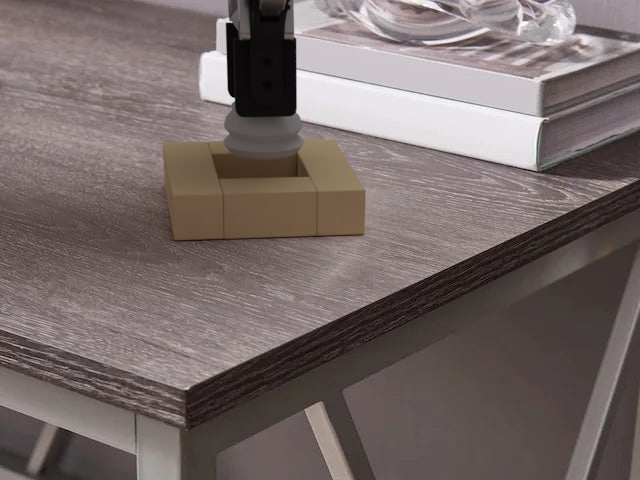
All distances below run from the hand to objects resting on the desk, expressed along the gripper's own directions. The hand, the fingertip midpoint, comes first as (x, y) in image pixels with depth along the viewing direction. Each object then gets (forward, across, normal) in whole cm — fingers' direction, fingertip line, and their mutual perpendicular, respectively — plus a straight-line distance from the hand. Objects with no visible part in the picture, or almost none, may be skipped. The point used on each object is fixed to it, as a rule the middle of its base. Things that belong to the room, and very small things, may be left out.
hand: (261, 102), depth 70 cm
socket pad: (+6, 0, 0) cm, 6 cm away
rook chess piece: (+3, 0, 0) cm, 3 cm away
